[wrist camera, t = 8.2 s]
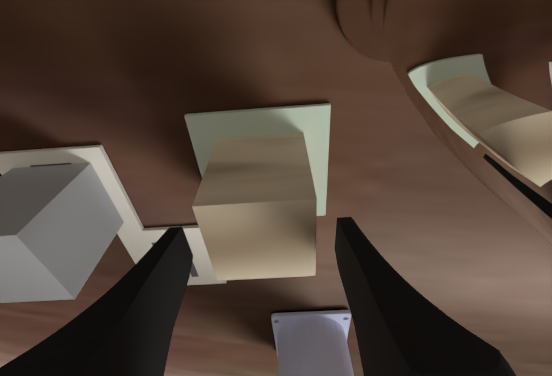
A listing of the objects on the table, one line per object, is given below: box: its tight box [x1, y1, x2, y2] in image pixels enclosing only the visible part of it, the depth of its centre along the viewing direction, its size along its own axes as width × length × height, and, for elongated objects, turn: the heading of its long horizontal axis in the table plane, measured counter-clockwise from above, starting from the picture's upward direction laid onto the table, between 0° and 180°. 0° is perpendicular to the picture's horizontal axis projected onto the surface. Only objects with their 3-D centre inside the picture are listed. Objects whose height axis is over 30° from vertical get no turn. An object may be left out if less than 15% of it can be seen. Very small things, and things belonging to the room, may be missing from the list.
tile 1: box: [0, 145, 144, 232], centre depth 18 cm, size 7×7×1 cm
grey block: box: [0, 163, 124, 303], centre depth 16 cm, size 5×5×6 cm
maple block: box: [192, 133, 317, 281], centre depth 15 cm, size 5×5×6 cm
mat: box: [184, 103, 331, 216], centre depth 17 cm, size 8×8×1 cm
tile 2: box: [117, 225, 227, 285], centre depth 22 cm, size 7×7×1 cm
